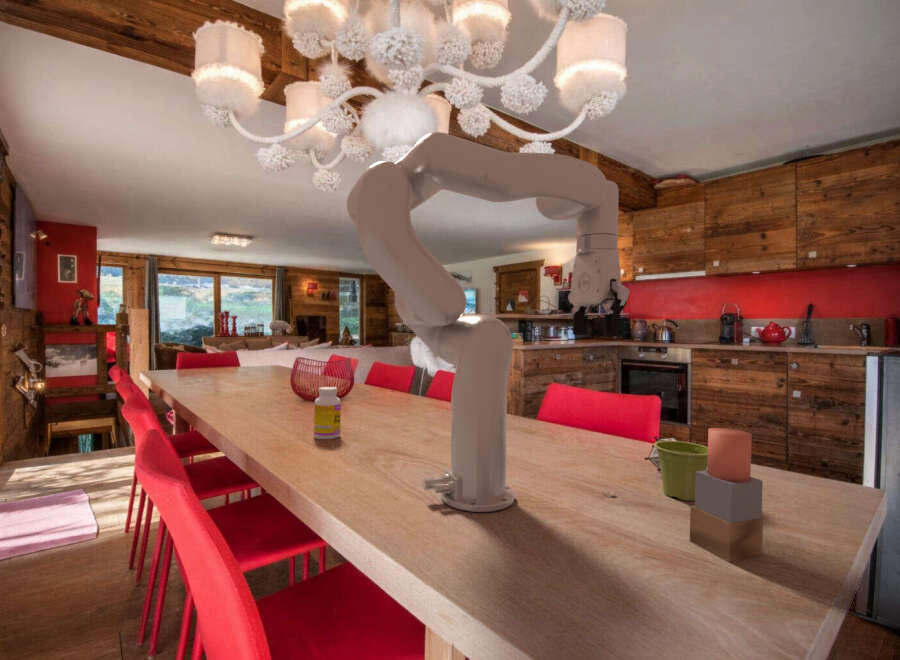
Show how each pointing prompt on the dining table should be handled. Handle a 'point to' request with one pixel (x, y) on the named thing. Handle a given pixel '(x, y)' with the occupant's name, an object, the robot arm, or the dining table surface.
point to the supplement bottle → (327, 414)
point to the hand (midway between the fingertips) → (595, 335)
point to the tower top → (728, 498)
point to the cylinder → (729, 454)
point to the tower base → (726, 536)
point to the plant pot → (681, 467)
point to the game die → (653, 454)
